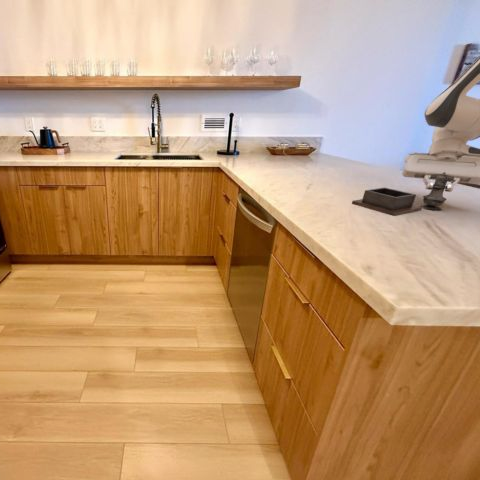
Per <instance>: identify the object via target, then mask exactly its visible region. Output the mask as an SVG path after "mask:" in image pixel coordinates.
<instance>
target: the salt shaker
mask: <svg viewBox="0 0 480 480" xmlns="http://www.w3.org/2000/svg"><path fill="white" fill-rule="evenodd" d="M445 174H446V173H445V172H444V173H443V174H442V175H439V176H437V178H436V180H434V182H433V183H434V185H433V188H432V189H431V190H430V192H429V193H428V194H426V195H423V196H422V199H423V203H424V204H422V205H420V207H422V209H424V210H428V211H437V212H438V211H442V208H441V207H440V206H442V205H443V204H444V203H445V202H446V201H447V198H446V197H444V192H445V188H447V187H446V186H447V183H448V182H449V181H448V176H446V175H445Z"/></svg>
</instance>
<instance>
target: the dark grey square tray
mask: <svg viewBox="0 0 480 480" xmlns="http://www.w3.org/2000/svg"><path fill="white" fill-rule="evenodd" d="M416 198H417V194H416V193H412V192H411V193H410V192H406V191H402V190H397V189H393V188H388V187H377V188H371V189H365V190H364V193H363V195H362V198H361V199H353V200H352V201H351V204H352V205H356V206H359V207H363V208H366V209H369V210H373V211H376V212H380V213H383V214H387V215H390V216H394V217H395V216H400V215H405V214H409V213H410V214H411V213H414V212H420V211H422V210H423V208H422V207H421V206H418V205H414V202H415V200H416Z"/></svg>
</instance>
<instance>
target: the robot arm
mask: <svg viewBox="0 0 480 480" xmlns="http://www.w3.org/2000/svg"><path fill="white" fill-rule="evenodd" d="M479 82H480V55H479V56H478V57H477V58H476V59H475V60H474V61H473V62H472V63H471V64H470V65H469V66H468V67H467V68H466V69H465V70H464V71H463V72H462V73H461V74H460V75H459V76H458V77H457V78H456V79H455V80H454V81H453V82H452V83H451V84H450V85H449V86H448V87H447V88H446V89H444V91H442V92H441V93H440V94H439V95H438V96H437V97H435V98H434V99H433V100H432V101H431V102H430V103H429V105H428V106H427V107H426V109H425V110H424V119H425V122H426V124H427V125H428V126H429V127H434V129H433V132H432V137H431V145H430V146H429V149H428V153H427V152H411V153H408V154H406V155H405V156H404V162H405V165H404V167H403V169H402V173H401V174H402V176H403V178H410V179H411V178H412V179H422V183H424V185H425V189H424V190H430V191H431V190H432V188H433V185H434V183H435V182H431V180H432V181H435V180H436V178H437V176H439V175H442V174H443V173H444V172H445V173H446V174H445V175H446V176H448V181H447V182H450V183H449V184H447V183H446V187H447V188H445V189H444V192H448V193H452V191H453V189H454V187H455V186H456V185H457V184H458V183H465V184H474V185H479V184H480V148H479V147H476V146H472V145H469V144H467V143H468V142H469V141H470V142H471V141H472V142H473V141H474V140H477V139H479V138H480V98H476V97H473V96H469V95H467V94H468V93H469V92H470V90H471V89H473V88H474V87H475V86H476V85H477V84H478V83H479Z"/></svg>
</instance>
